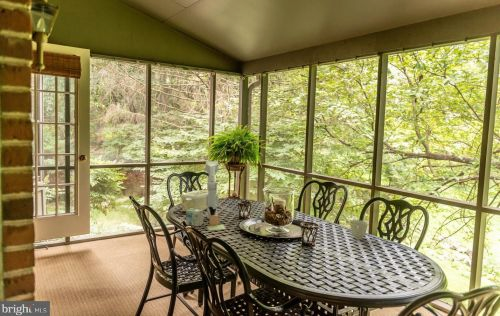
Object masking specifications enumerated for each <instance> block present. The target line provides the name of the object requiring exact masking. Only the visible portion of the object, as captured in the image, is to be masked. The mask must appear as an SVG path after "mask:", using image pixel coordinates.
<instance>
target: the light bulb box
mask: <svg viewBox="0 0 500 316" xmlns="http://www.w3.org/2000/svg"><path fill="white" fill-rule="evenodd" d="M185 212H186V213H185V214H186V215H185V217H186V218H185V219H186V222H185V223H186V225H188V226H194V227H195V226H196V227H199V226H202V225H203V224H204V210H202V209H193V208H190V209H188V210H186V211H185Z"/></svg>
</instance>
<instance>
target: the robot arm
mask: <svg viewBox="0 0 500 316" xmlns="http://www.w3.org/2000/svg"><path fill="white" fill-rule="evenodd" d="M205 172H206V174H208V176H207V178H208V181H207V191H208V195H207V196H206V206H208V208H207V209H206V212H207V213H206V214H207V215H206V218H207V219H209V215H218V206H220V204H219V201H220V200H219V195H218V194H217V188H218V183H217V176H216V173H218V172H219V161H211V160H210V161H207V160H206V161H205ZM207 199H208V200H207Z"/></svg>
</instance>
